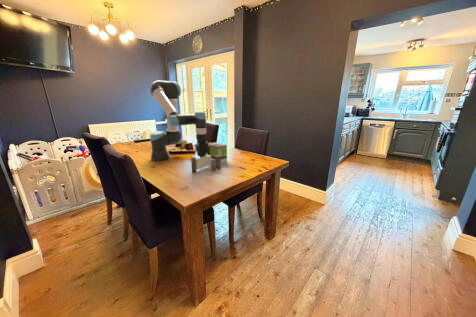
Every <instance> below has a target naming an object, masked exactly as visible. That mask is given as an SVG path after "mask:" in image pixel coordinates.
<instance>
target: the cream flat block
mask: <svg viewBox="0 0 476 317" xmlns="http://www.w3.org/2000/svg"><path fill="white" fill-rule="evenodd" d="M208 166H211V155H208V156H207V155H206V156H204V157H201V158H200V157H198V158H196V171H197V170H200V169H202V168H206V167H208Z"/></svg>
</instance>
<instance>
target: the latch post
mask: <svg viewBox="0 0 476 317" xmlns="http://www.w3.org/2000/svg"><path fill="white" fill-rule="evenodd" d="M215 157H216V170H221V166H222V165H221V163H220V156H219V155H217V156H215Z"/></svg>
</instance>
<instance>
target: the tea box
mask: <svg viewBox="0 0 476 317" xmlns="http://www.w3.org/2000/svg"><path fill="white" fill-rule="evenodd" d="M208 155H211V160H214V159H215V160H216V157H215V156H217V155H219V156H220V164H223V163H227V162H228V145H227V144H226V143H221V142H217V141H216V142H209V144H208V150H207V155H206V156H208Z"/></svg>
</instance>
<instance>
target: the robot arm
mask: <svg viewBox="0 0 476 317" xmlns="http://www.w3.org/2000/svg"><path fill="white" fill-rule="evenodd" d="M150 94H151V96H152V97H153V99H155V100H156V101H157V102H158V104H159V105H160V107H161V108H162V109H163V111H164V113H165V114H166V122H167V123H166V124H167V128H166V129H165V131H164V130H163V131H161V130H159V131H155V132H151V133H150V137H149V138H150V139H149V140H150V144H151V145H150V146H151V154H150V160H151V161H155V162H160V161H161V162H162V161H166V160H168V159H170V154H169V152H168V150H167V147H168V146H172V145H173V146H174V145H178V144H181V143H182V141H183V133H182V131H180V129H179V127H181V126H189V125H195V138H196V140H197V141H196V143H195V144H194V147H195V150H196V152H197V154H196V155H197V156H198V157H199V158H201V157H204V156H207V150H208V144H209V143H210V142H209V141H208V140H207V139H208V136H207V117H206V112H205V111H195V112H194V113H187V114H180V113H179V111H178V106H177V105H178V102H177V101H178V100H179V97H180V96H181V94H182V89H181V86H180V84H179V82H176V81H173V80H155V81H153V82H152V84H151V86H150Z"/></svg>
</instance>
